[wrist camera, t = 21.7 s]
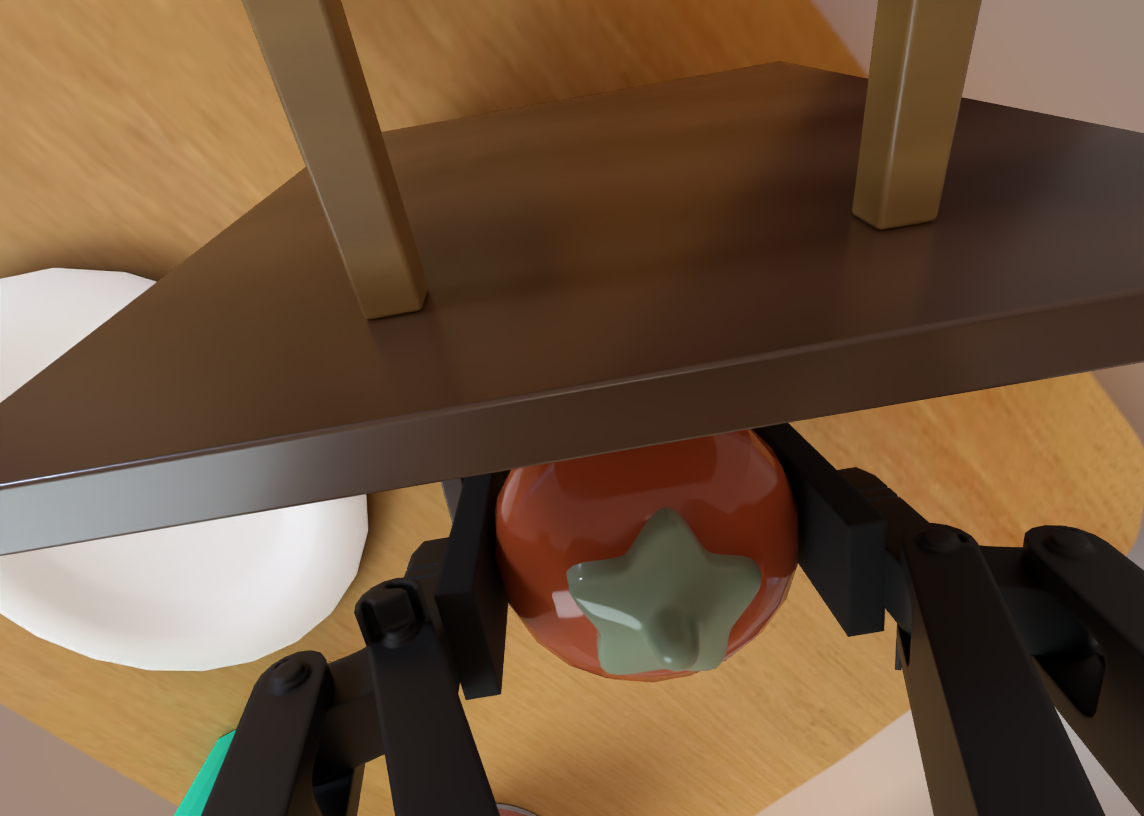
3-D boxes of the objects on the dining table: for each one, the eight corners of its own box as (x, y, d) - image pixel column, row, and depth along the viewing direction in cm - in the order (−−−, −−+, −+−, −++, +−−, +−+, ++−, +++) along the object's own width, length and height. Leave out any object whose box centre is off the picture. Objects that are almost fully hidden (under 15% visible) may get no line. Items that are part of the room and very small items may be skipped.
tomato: (508, 571, 19) (487, 818, 12) (494, 351, 17) (457, 488, 9) (732, 562, 20) (851, 796, 12) (754, 344, 17) (924, 472, 9)
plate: (439, 388, 33) (434, 398, 31) (301, 700, 40) (291, 722, 39) (-58, 171, 28) (-95, 170, 26) (-111, 574, 35) (-142, 592, 34)
